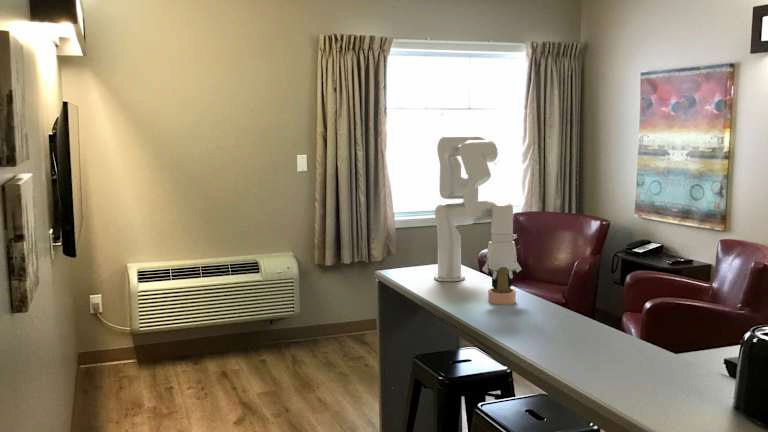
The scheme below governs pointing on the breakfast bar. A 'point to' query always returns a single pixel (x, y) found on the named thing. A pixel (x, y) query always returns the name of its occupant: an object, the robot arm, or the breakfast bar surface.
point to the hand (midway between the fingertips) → (501, 288)
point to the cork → (502, 280)
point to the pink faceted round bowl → (501, 297)
